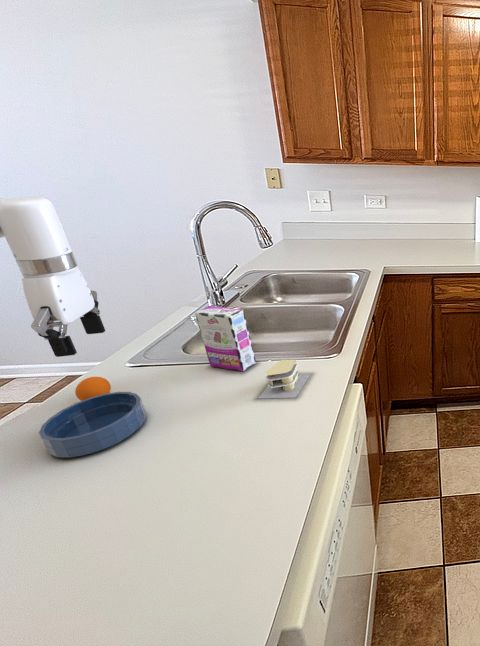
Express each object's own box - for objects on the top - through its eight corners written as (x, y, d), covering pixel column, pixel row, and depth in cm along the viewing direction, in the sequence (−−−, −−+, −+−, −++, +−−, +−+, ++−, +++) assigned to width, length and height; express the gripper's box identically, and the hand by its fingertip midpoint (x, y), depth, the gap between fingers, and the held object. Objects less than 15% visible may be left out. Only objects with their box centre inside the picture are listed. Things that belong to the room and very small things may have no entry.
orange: (74, 410, 91) (64, 388, 89) (89, 395, 96) (80, 374, 94) (106, 405, 92) (97, 383, 90) (119, 390, 98) (111, 369, 96)
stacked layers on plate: (276, 375, 104) (272, 357, 102) (310, 374, 104) (307, 356, 102) (257, 398, 95) (253, 379, 93) (295, 397, 95) (291, 378, 93)
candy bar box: (257, 362, 110) (244, 308, 104) (243, 372, 105) (229, 316, 99) (224, 357, 112) (209, 304, 106) (209, 367, 108) (193, 312, 102)
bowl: (29, 468, 75) (18, 447, 73) (78, 417, 89) (69, 398, 87) (126, 450, 79) (118, 430, 77) (159, 404, 93) (152, 386, 91)
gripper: (55, 253, 82) (86, 327, 89) (-15, 281, 67) (28, 368, 73) (99, 251, 84) (125, 323, 90) (40, 277, 69) (77, 362, 75)
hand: (82, 343), depth 82 cm, fingers open, 9 cm apart
